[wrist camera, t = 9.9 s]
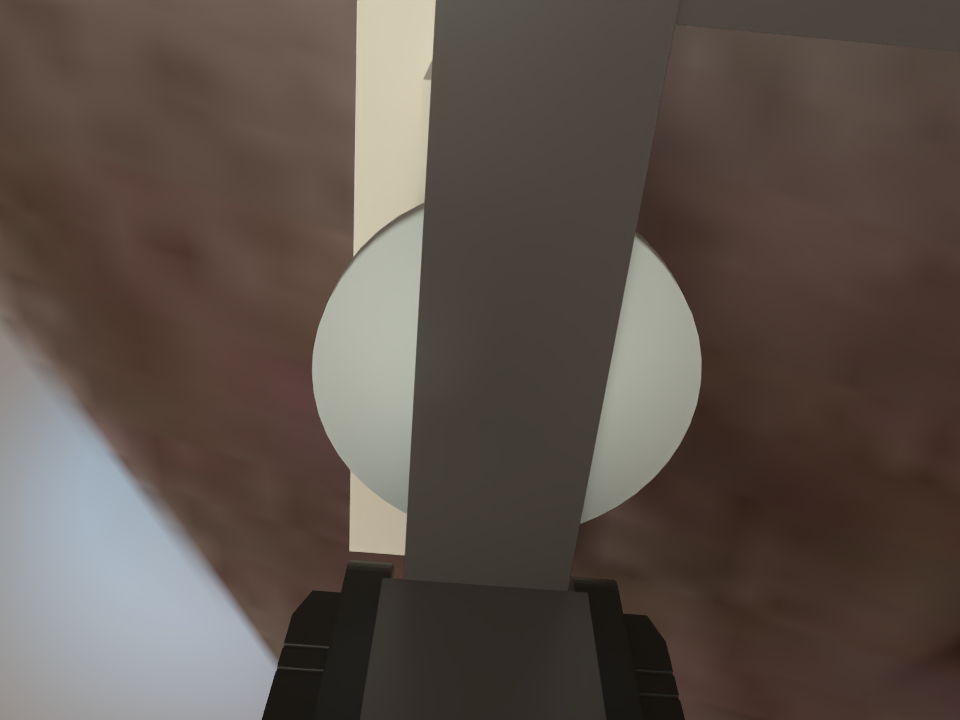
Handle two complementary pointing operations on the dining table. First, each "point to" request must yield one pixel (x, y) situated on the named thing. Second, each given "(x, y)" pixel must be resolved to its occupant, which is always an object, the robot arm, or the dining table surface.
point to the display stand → (388, 178)
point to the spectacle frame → (528, 337)
